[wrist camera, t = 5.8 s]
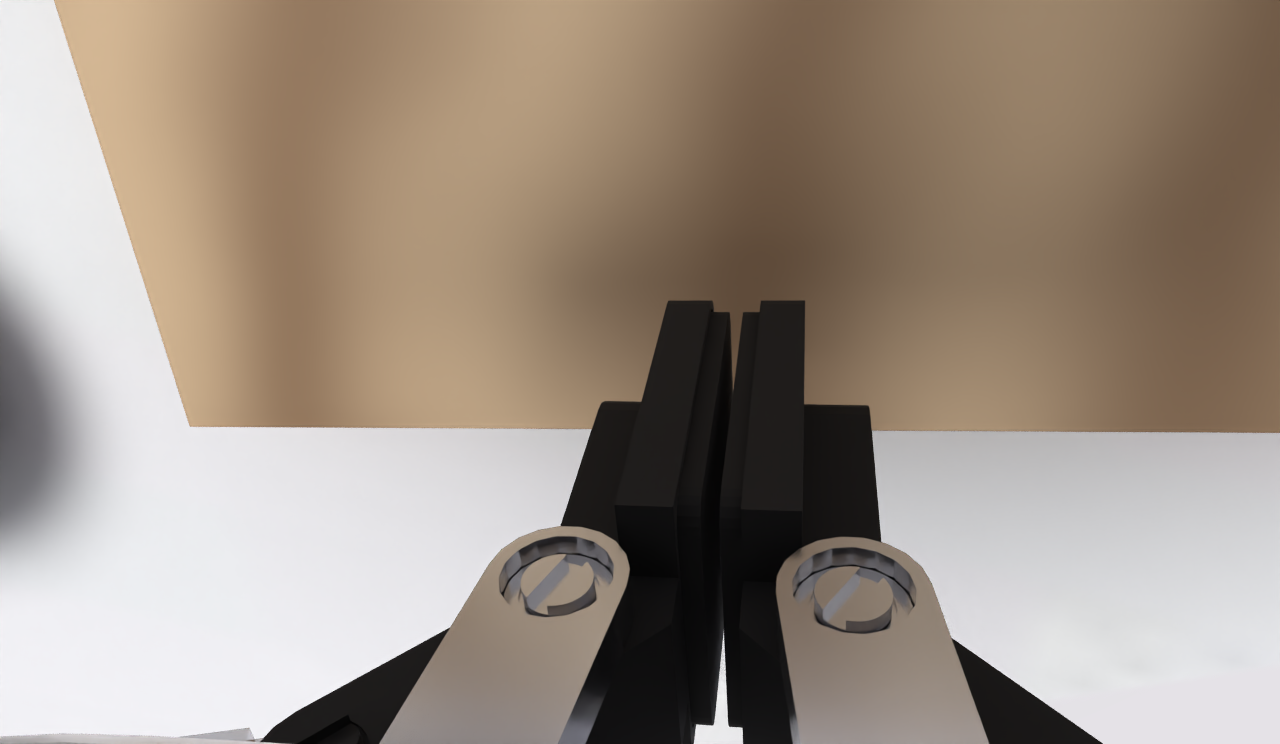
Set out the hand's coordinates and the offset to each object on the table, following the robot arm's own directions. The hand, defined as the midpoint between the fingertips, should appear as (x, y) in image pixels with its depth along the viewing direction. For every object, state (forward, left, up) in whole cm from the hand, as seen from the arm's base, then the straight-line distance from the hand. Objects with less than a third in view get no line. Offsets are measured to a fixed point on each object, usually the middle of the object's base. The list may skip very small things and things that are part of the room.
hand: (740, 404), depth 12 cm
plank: (-1, -1, -4) cm, 5 cm away
